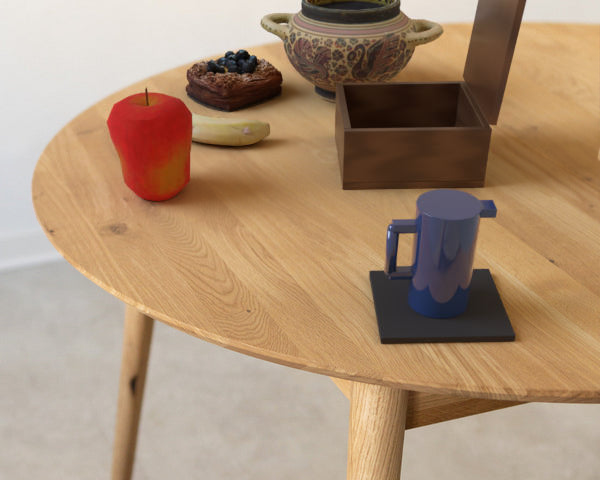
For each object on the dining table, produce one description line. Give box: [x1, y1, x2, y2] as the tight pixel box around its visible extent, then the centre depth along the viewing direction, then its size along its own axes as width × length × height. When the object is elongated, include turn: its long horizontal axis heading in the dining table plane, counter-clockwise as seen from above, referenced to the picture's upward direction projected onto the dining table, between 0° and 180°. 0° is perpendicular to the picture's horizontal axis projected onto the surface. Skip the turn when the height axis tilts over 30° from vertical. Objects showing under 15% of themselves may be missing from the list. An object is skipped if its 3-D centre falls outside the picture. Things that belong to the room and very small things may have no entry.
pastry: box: [184, 49, 284, 113], centre depth 108 cm, size 11×12×6 cm
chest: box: [334, 80, 493, 190], centre depth 90 cm, size 16×15×7 cm
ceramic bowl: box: [259, 0, 444, 103], centre depth 106 cm, size 24×18×15 cm
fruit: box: [190, 111, 271, 147], centre depth 97 cm, size 7×15×3 cm, turn 55°
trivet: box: [368, 268, 517, 344], centre depth 68 cm, size 11×10×1 cm
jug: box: [383, 188, 498, 319], centre depth 65 cm, size 8×5×10 cm, turn 91°
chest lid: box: [462, 0, 527, 126], centre depth 83 cm, size 16×15×1 cm
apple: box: [106, 86, 193, 202], centre depth 82 cm, size 9×8×12 cm
